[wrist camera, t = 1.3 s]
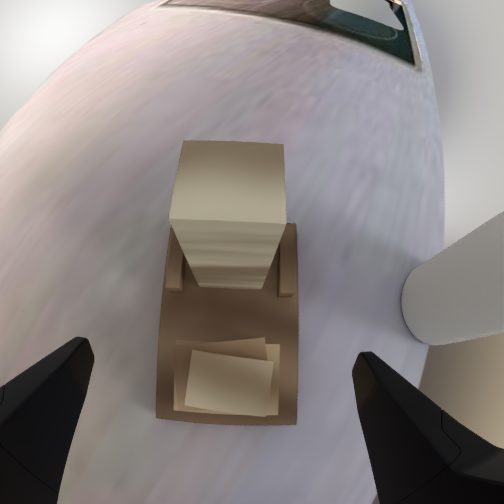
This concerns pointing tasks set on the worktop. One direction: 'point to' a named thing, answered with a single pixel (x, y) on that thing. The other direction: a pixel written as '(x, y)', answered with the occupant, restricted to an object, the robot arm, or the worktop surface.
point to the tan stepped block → (229, 344)
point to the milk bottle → (459, 289)
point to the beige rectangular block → (229, 210)
